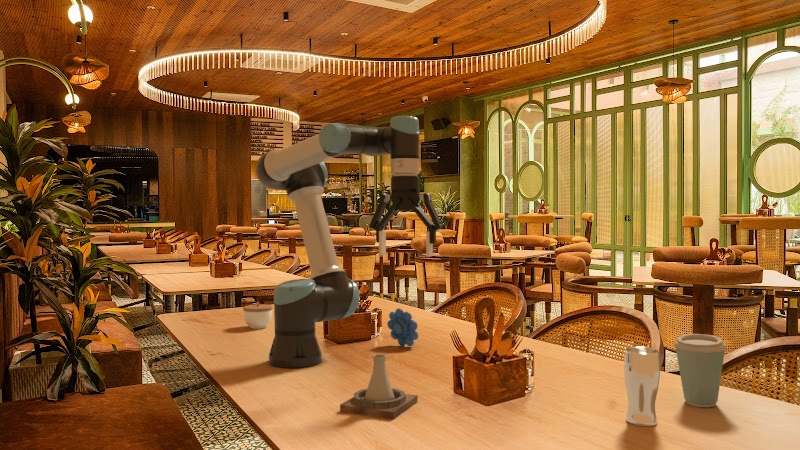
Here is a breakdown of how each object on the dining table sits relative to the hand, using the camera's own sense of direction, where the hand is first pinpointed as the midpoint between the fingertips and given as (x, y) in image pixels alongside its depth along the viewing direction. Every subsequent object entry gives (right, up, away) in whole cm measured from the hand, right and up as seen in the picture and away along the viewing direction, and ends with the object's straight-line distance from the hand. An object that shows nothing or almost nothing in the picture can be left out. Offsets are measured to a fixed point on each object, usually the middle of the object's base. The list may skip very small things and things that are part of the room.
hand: (405, 255), depth 172 cm
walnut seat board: (-6, -33, -26) cm, 42 cm away
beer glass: (+49, -33, -37) cm, 70 cm away
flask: (-6, -31, -26) cm, 41 cm away
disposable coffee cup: (+66, -32, -25) cm, 78 cm away
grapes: (-1, -31, +35) cm, 46 cm away
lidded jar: (-54, -30, +68) cm, 92 cm away
